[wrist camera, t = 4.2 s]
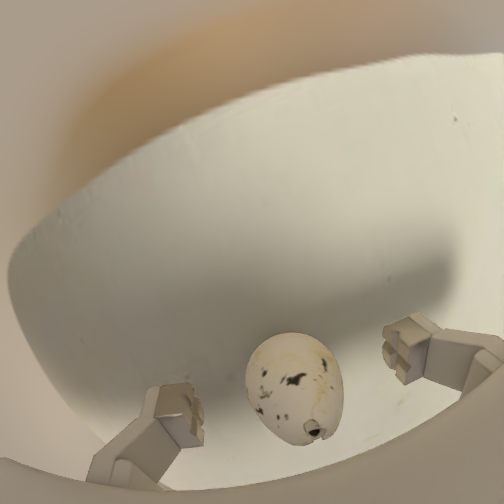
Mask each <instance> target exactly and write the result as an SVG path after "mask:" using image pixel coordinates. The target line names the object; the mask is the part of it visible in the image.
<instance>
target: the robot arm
mask: <svg viewBox="0 0 504 504" xmlns="http://www.w3.org/2000/svg"><path fill="white" fill-rule="evenodd" d="M383 337H384V338H385V339H386V340H385V342H384V344H383V346H382V354H383V357H384V360H385V362H386V364H387V365H388V367H389V368H391V369H394V370H396V376H397V378H398V379H399V380H400V381H401V382H402V383H403V385H404V386H405V385H407V384H409V383H411V382H413V381H415V380H417V379H419V378H421V377H423V378H426V379H429V380H431V381H434V382H437V383H439V384H442V385H445V386H447V387H450V388H453V389H456V390H458V391H461V392H462V393H461V396H460V398H459V400H458V401H456V402H455V403H453V404H452V405H451V406H449V407H448V408H446V409H445V410H443V411H441V412H440V413H438V414H437V415H435V416H434V417H432V418H430V419H429V420H427V421H425V422H424V423H422V424H420V425H418V426H417V427H415V428H413V429H411V430H409V431H408V432H406V433H404V434H402V435H400V436H398V437H396V438H394V439H392V440H390V441H388V442H386V443H384V444H382V445H379V446H377V447H375V448H373V449H370V450H368V451H366V452H363V453H361V454H358V455H356V456H353V457H351V458H348V459H346V460H343V461H340V462H337V463H334V464H331V465H328V466H325V467H322V468H319V469H316V470H312V471H309V472H305V473H302V474H298V475H294V476H290V477H286V478H282V479H277V480H272V481H267V482H262V483H256V484H250V485H244V486H237V487H229V488H219V489H206V490H184V491H165V490H163V489H162V488H161V487H160V486H158V485H157V483H158V481H159V480H160V479H161V477H162V476H163V475H164V473H165V472H166V470H167V469H168V468H169V466H170V465H171V463H172V462H173V461H174V459H175V458H176V456H177V455H178V453H179V452H180V451H181V449H183V448H192V447H200V446H204V431H203V429H202V428H201V426H202V425H203V423H204V412H203V408H202V405H201V402H200V400H199V399H198V398H196V397H195V396H194V389H193V387H192V385H191V384H190V383H188V382H187V383H180V384H172V385H163V386H156V387H150V388H148V389H147V392H146V396H145V399H144V403H143V406H142V409H141V413H140V417H139V419H135V420H134V421H132V422H131V423H130V424H129V425H128V426H127V427H126V428H125V429H124V430H122V431H121V432H120V433H119V434H118V435H117V436H116V437H115V438H113V439H112V440H111V441H110V442H109V443H108V444H107V445H105V446H104V447H103V448H102V449H101V450H100V451H99V452H97V453H96V454H95V455H94V457H93V459H92V462H91V465H90V469H89V471H88V474H87V477H86V481H85V482H84V481H79V480H74V479H70V478H66V477H62V476H58V475H55V474H51V473H48V472H45V471H41V470H38V469H35V468H32V467H29V466H27V465H24V464H21V463H19V462H16V461H14V460H12V459H9V458H0V504H504V340H503V339H501V338H500V337H498V336H495V335H487V334H480V333H473V332H466V331H459V330H452V329H445V330H443V329H441V328H440V327H439V326H437V325H436V324H435V323H433V322H432V321H431V320H429V319H428V318H427V317H425V316H424V315H423V314H421V313H420V312H415V313H413V314H411V315H409V316H407V317H406V318H403V319H401V320H399V321H396V322H394V323H392V324H390V325H387V326H385V327H384V328H383Z"/></svg>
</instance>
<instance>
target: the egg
mask: <svg viewBox="0 0 504 504" xmlns="http://www.w3.org/2000/svg"><path fill="white" fill-rule="evenodd" d="M245 387H246V393H247V396H248V399H249V402H250V404H251V406H252V408H253V410H254V411H255V413H256V414H257V416H258V417H259V419H260V420H261V421H262V422H263V423H264V425H265V426H266V427H267V428H268V429H269V430H271V431H272V432H273V433H274V434H275V435H276V436H278V437H279V438H281V439H282V440H284V441H285V442H287V443H289V444H291V445H294V446H295V445H298V446H305V445H308V444H310V443H313V440H316V439H318V438H320V437H322V440H325V439H327V438H329V437H331V436H332V435H333V434H334V432H335V431H336V429H337V427H338V425H339V422H340V419H341V415H342V410H343V400H344V392H343V381H342V376H341V372H340V369H339V366H338V364H337V362H336V360H335V358H334V356H333V355H332V353H331V352H330V351H329V349H328V348H327V347H326V346H325V345H324V344H322V343H321V342H320V341H318V340H317V339H315V338H313V337H311V336H309V335H306V334H302V333H282V334H278V335H275V336H273V337H271V338H269V339H267V340H266V341H264V342H263V343H262V344H261V345H259V346H258V347H257V349H256V350H255V351H254V352H253V354H252V355H251V357H250V359H249V361H248V364H247V367H246V372H245Z"/></svg>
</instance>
